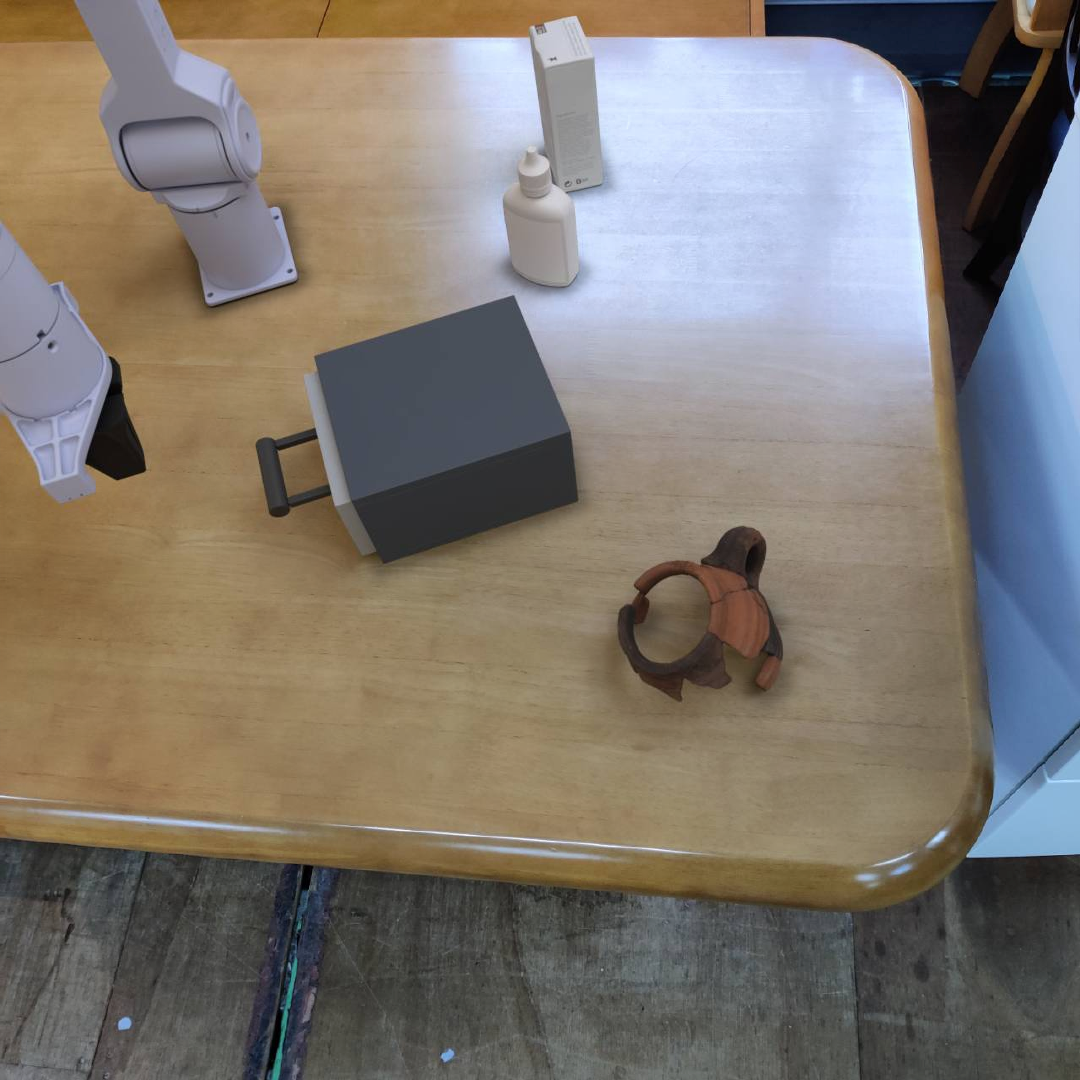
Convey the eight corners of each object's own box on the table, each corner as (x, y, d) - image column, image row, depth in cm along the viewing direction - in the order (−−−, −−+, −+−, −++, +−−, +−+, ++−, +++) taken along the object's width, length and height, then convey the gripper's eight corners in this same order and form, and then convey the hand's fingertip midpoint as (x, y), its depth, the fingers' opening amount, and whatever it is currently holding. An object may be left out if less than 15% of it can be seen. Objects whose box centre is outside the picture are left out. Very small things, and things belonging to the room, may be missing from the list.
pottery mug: (768, 740, 59) (706, 706, 53) (647, 697, 65) (580, 663, 59) (830, 563, 61) (778, 511, 55) (707, 538, 67) (648, 490, 62)
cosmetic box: (605, 184, 84) (600, 57, 73) (556, 196, 84) (543, 70, 73) (588, 140, 87) (581, 11, 76) (540, 151, 87) (527, 23, 76)
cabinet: (383, 564, 67) (350, 500, 60) (347, 428, 73) (313, 355, 66) (578, 501, 68) (571, 431, 61) (526, 372, 74) (514, 294, 67)
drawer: (297, 577, 66) (263, 529, 60) (270, 450, 72) (236, 395, 66) (544, 497, 67) (535, 442, 62) (499, 379, 73) (487, 318, 67)
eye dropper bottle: (542, 302, 78) (527, 183, 67) (506, 263, 80) (486, 142, 70) (586, 277, 78) (578, 156, 68) (549, 239, 81) (535, 116, 71)
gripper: (-72, 248, 52) (61, 401, 64) (-76, 455, 45) (75, 583, 56) (56, 211, 52) (164, 369, 64) (72, 410, 45) (190, 547, 57)
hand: (130, 468), depth 60 cm, fingers closed
